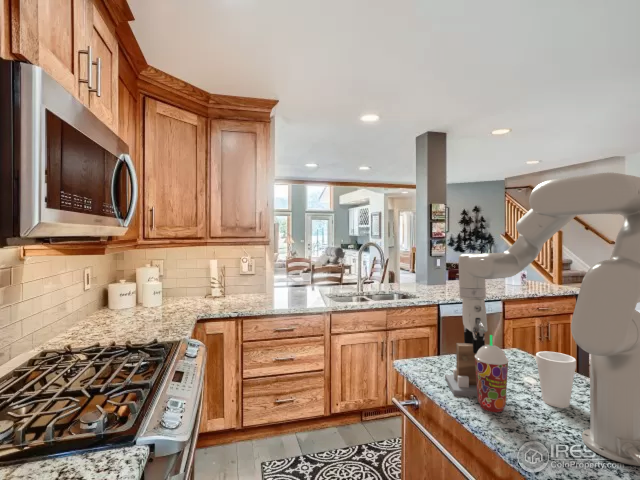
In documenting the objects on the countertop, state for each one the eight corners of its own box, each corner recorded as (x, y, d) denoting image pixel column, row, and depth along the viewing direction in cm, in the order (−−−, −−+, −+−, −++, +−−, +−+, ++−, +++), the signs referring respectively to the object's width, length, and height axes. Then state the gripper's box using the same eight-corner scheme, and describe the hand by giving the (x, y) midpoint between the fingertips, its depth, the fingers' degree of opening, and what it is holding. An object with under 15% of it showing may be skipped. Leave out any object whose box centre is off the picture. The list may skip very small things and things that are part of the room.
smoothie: (489, 417, 91) (489, 340, 91) (468, 402, 99) (468, 332, 99) (516, 412, 94) (515, 338, 94) (492, 399, 102) (492, 330, 102)
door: (491, 387, 106) (490, 348, 106) (459, 386, 107) (459, 347, 107) (486, 382, 110) (486, 344, 110) (456, 380, 111) (456, 343, 111)
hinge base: (503, 397, 102) (503, 382, 102) (453, 395, 104) (453, 380, 104) (489, 381, 114) (489, 367, 114) (445, 379, 116) (445, 365, 116)
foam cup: (568, 397, 103) (567, 352, 103) (582, 412, 94) (582, 363, 94) (531, 393, 105) (531, 350, 105) (542, 407, 96) (542, 360, 96)
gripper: (494, 297, 100) (497, 357, 100) (476, 289, 117) (478, 341, 117) (467, 297, 101) (469, 357, 101) (453, 290, 118) (454, 341, 118)
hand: (474, 348), depth 109 cm, fingers open, 9 cm apart
